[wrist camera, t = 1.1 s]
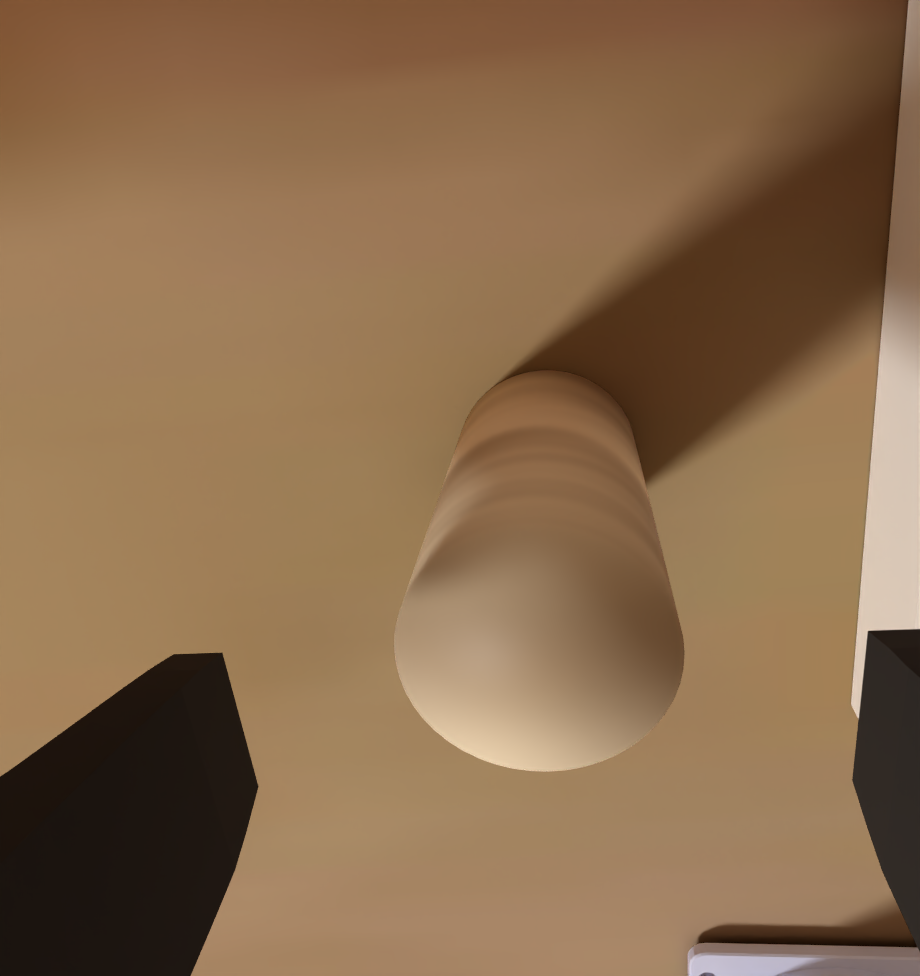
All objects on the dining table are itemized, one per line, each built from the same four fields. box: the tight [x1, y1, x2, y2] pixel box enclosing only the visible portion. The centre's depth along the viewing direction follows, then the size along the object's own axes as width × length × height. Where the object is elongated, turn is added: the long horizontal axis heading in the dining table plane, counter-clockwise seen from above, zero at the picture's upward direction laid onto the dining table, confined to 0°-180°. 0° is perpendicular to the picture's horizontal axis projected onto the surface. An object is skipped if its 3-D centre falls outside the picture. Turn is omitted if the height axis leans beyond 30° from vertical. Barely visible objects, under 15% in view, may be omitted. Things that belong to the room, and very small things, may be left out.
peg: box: [394, 370, 684, 772], centre depth 15 cm, size 4×4×8 cm
